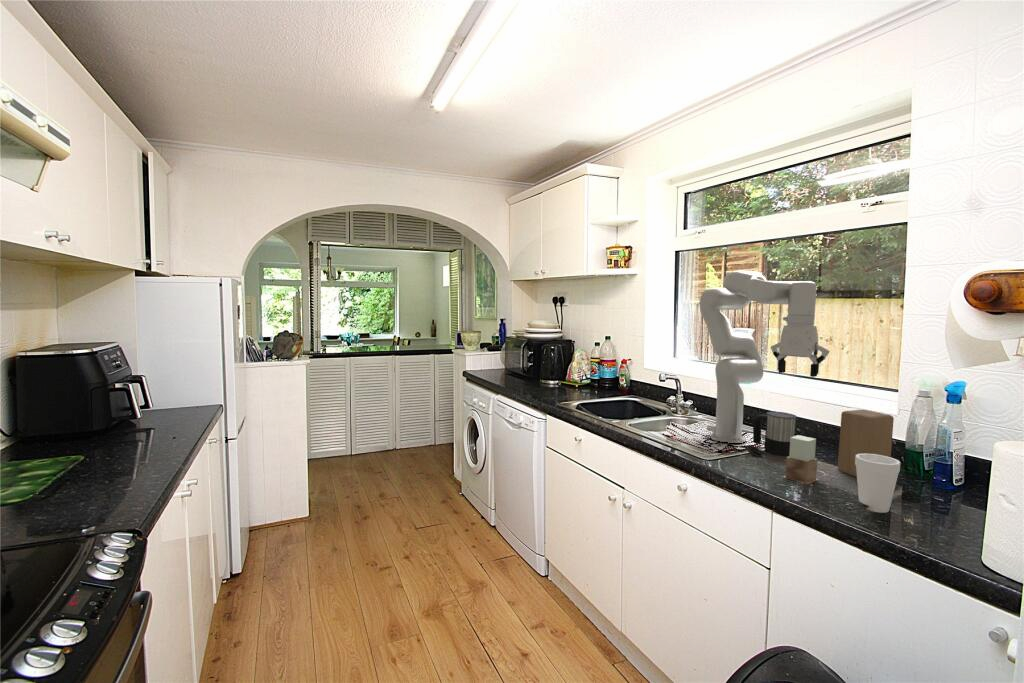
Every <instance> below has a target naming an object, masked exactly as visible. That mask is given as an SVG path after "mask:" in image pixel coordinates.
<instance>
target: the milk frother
mask: <svg viewBox="0 0 1024 683" xmlns="http://www.w3.org/2000/svg"><path fill="white" fill-rule="evenodd" d="M796 419H797V415H796V414H793V413H790V412H783V411H775V410H774V411H767V412H766V414H765V413H764V414H759V415H757V416H755V418H753V421H752V425H753V427H752V428H753V429H752V431H753V432H752V434H753V435H752V438H753V439H752V440H753V443H754V444H755V445H757V444H758V445H759V444H760V443H762V422H763V421H765V435H764V450H761V449H760V448H758V447H756V446H753V445H751V444H750V445H746V446H745V451H747V452H748V453H749V454H750V455H751V456H752V457H754V458H761V459H762V458H766V453H767V454H770V455H773V456H780V457H789V454H790V438H791V437H794V436H795V429H796ZM765 452H766V453H765Z"/></svg>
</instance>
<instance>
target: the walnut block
mask: <svg viewBox="0 0 1024 683" xmlns="http://www.w3.org/2000/svg"><path fill="white" fill-rule="evenodd" d="M785 465H786V466H785V476H786V477H787V478H786V479H788V478H791V479H794V480H793V481H795V480H798V481H797V482H799V481H802V482H805V483H804V484H806V483H808V482H810V481H812V480H815V479H816V478H817V469H818V458H815V459H813V460H811V461H808V462H806V461H802V460H798V459H794V458H789V456H786V463H785ZM791 479H790V480H791ZM802 482H801V483H802Z"/></svg>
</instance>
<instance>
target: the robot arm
mask: <svg viewBox="0 0 1024 683" xmlns="http://www.w3.org/2000/svg"><path fill="white" fill-rule="evenodd" d="M722 282H723V283H722V284H723V287H720V288H719V287H714V288H713V287H712V288H709V289H705V291H703V292H702V293H701V295H700V298H699V310H700V314H701V316H702V319H703V321H704V323H705V325H706V327H707V330H708V335H709V339H710V341H711V345H712V349H713V351H714V354H715V355H716V356H718V357H721V358H723V359H720V360H719V361H718V362H717V363H716V365H715V378H716V389H717V390H716V408H715V409H716V410H715V425H712V424H708V425H707V427H706V431H709V432H712V433H711V434H710V439H711V440H713V441H715V442H718V441H720V442H719V443H722V442H728V443H727V444H729V443H742V444H744V443H743V442H745V441H746V442H747V438H746V437H745V436H743V422H744V421H743V420H744V405H745V404H744V402H745V401H744V400H745V395H744V392H743V390H742V387H741V386H740V384H753V383H759V382H760V381H761V380H762V379H763V376H764V365H763V362H762V359H761V356H760V352H759V349H758V346H757V344H756V341H755V339H754V337H753V336H751V334H749V333H746V332H735V331H733V329H732V326H731V321H730V320H729V318H728V317H727V316H726V315H725V314H724V313H723V312H722V311H721V310H724V311H725V310H726V311H738V310H742V309H744V308H746V306H748V305H749V304H750V303H751V302H754V303H755V302H756V303H759V304H764V305H787V314H786V315H785V316H783V317H782V320H783V321H785V322H786V324H783V326H782V327H783V328H782V330H781V335H780V341H779V342H778V343H776V344H773V345H770V349H771V352H772V355H773V356H774V358H776V360H777V370H778V373H779V374H783V373H785V372H786V364H787V361H786V360H785V359H786V358H787V357H795V358H796V357H797V358H798V357H799V358H809V360H810V361H811V362H812V363H811V364H810V372H809V376H810V377H811V378H814V377H817V376H818V375H819V372H820V371H819V369H820V364H821V363H822V362H823V361H824V360H826V359H827V357H828V355H829V354H830V350H829V349H827V348H826V347H824V346H822V345H820V344H819V334H818V329H817V325H815V318H816V316H815V315H816V300H817V288H818V287H817V284H816V282H814V281H807V280H805V281H801V280H800V281H781V280H780V281H777V280H767V279H766V277H764V275H763V274H762V273H760V272H758V271H750V270H749V271H748V270H747V271H746V270H735V271H731V272H729V273H727V274H726V275H725V277H723V281H722ZM778 349H779V351H778ZM818 352H821V355H820V356H819V357H818ZM746 442H745V443H746Z"/></svg>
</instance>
